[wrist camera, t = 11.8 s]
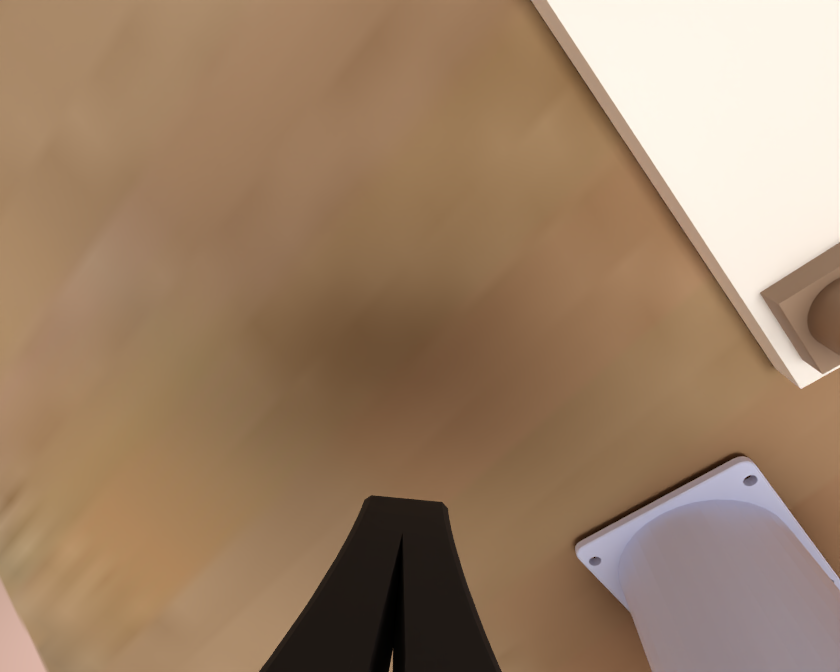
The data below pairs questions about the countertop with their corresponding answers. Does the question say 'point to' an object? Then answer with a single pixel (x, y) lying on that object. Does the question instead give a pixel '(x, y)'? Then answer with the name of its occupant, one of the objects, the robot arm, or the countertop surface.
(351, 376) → the countertop surface
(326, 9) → the countertop surface
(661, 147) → the white board with posts
